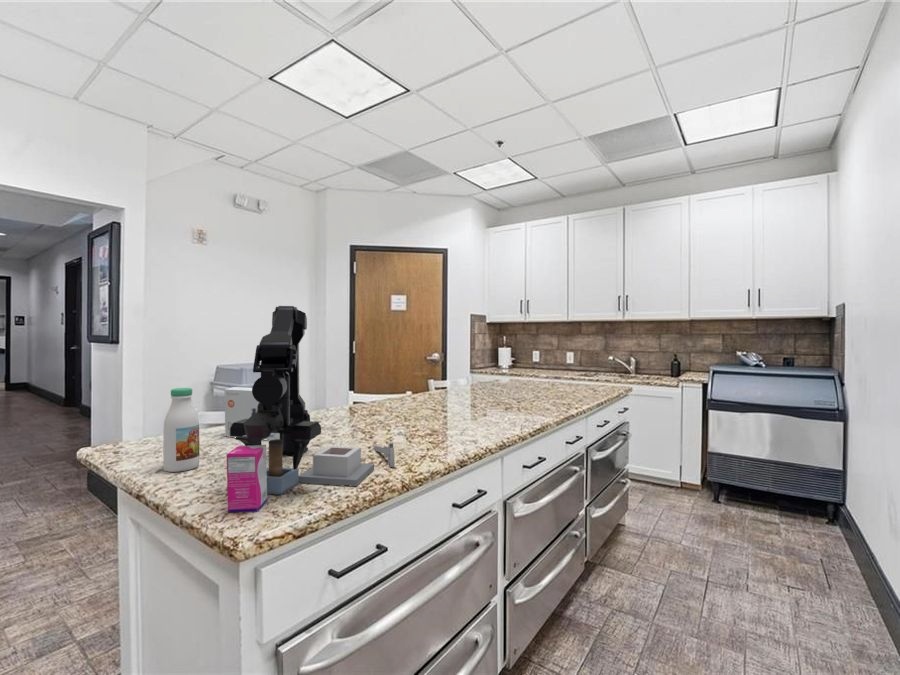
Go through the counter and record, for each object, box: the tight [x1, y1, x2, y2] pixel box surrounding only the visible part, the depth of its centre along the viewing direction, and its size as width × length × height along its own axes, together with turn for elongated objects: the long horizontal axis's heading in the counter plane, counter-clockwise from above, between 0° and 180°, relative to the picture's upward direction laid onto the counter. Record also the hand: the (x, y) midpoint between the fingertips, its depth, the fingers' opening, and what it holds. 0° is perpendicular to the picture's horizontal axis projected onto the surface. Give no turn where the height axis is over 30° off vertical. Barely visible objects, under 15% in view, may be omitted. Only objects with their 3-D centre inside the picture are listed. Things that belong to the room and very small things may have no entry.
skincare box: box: [224, 386, 280, 441], centre depth 141 cm, size 21×5×16 cm, turn 77°
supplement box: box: [226, 444, 268, 513], centre depth 86 cm, size 6×6×12 cm
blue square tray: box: [267, 467, 300, 496], centre depth 96 cm, size 7×7×4 cm
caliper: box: [372, 442, 395, 468], centre depth 120 cm, size 20×1×6 cm, turn 23°
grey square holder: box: [299, 445, 375, 487], centre depth 104 cm, size 14×12×6 cm
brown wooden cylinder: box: [268, 439, 284, 477], centre depth 96 cm, size 3×3×10 cm
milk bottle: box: [162, 387, 200, 473], centre depth 109 cm, size 8×8×20 cm
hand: (275, 467), depth 96 cm, fingers open, 9 cm apart
